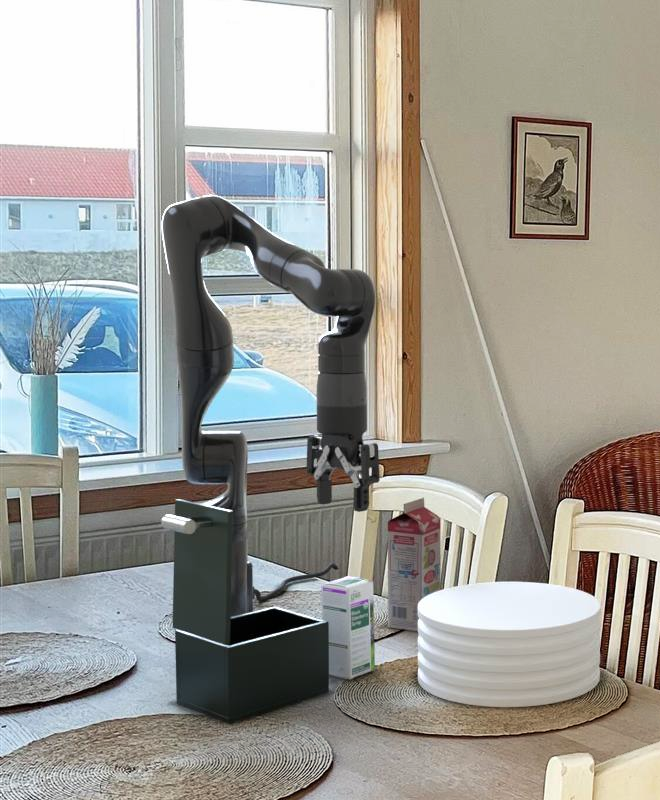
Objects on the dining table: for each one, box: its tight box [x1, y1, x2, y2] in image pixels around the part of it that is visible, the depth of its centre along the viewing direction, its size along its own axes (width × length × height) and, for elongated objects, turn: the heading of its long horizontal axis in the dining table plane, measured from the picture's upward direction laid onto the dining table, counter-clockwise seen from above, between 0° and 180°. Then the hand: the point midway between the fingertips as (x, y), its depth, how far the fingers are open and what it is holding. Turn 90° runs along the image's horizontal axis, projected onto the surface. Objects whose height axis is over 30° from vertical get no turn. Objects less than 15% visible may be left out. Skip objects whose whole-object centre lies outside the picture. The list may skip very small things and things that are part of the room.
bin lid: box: [160, 498, 233, 645], centre depth 187 cm, size 18×13×5 cm
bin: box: [174, 606, 330, 725], centre depth 197 cm, size 18×13×11 cm
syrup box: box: [320, 575, 376, 680], centre depth 209 cm, size 6×6×14 cm
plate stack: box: [417, 581, 602, 708], centre depth 209 cm, size 28×28×12 cm
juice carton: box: [387, 496, 442, 632], centre depth 236 cm, size 7×7×22 cm
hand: (342, 507), depth 207 cm, fingers open, 8 cm apart
